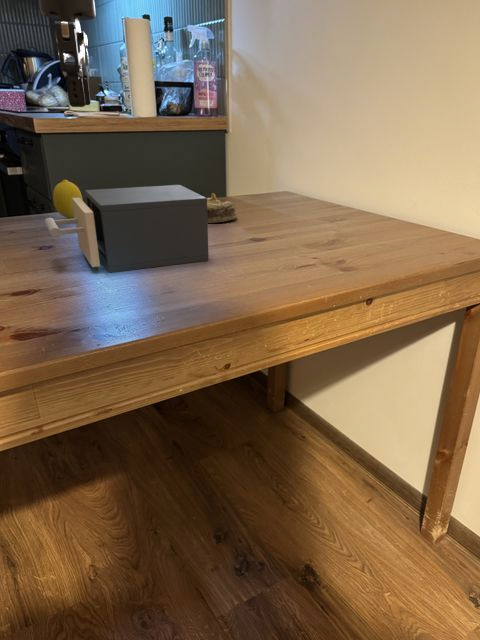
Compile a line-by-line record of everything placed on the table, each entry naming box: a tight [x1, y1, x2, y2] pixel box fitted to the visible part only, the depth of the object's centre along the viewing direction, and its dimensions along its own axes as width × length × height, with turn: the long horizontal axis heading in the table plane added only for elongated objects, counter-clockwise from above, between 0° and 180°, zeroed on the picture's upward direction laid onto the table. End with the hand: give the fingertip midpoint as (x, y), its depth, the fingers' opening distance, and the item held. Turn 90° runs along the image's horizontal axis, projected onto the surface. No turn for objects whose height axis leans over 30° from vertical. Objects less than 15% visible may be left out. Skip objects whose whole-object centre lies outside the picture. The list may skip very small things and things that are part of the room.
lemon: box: [52, 179, 84, 219], centre depth 100 cm, size 6×6×8 cm
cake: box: [206, 192, 238, 224], centre depth 105 cm, size 10×10×5 cm
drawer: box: [44, 197, 106, 268], centre depth 77 cm, size 19×12×8 cm, turn 117°
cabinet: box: [84, 184, 210, 274], centre depth 80 cm, size 16×13×10 cm
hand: (80, 105), depth 77 cm, fingers open, 8 cm apart
